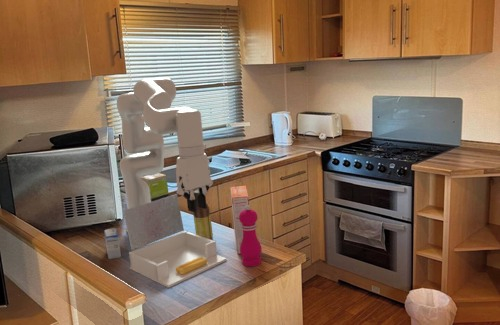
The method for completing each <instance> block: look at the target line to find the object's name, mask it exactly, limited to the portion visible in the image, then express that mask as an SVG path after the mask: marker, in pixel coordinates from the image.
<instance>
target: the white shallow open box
mask: <svg viewBox="0 0 500 325" xmlns="http://www.w3.org/2000/svg"><path fill="white" fill-rule="evenodd" d="M128 256H129V258H128V259H129V264H130V266H129V269H130V270H132V271H134V272H136V273H138V274H140V275H142V276H143V277H146V278H148V279H150V280H152V281H154V282H156V283H158V284H160V285H162V286H165V287H166V288H171V287H173V286H175V285H177V284H179V283H182V282H184V281H186V280H188V279H191V278H192V277H195V276H196V275H199V274H201V273H203V272H206V271H207V270H209V269H212V268H213V267H216V266H218V265H220V264H223V263H224V262H227V258H226V257H224V256H221V255H219V254H217V242H216V240H210V239H207V238H205V237H202V236H199V235H196V233H192V232H190V231H188V230H184V231H181V232H178V233H176V234H173V235H171V236H168V237H165V238H163V239H160V240H157V241H155V242H152V243H149V244H147V245H144V246H142V247H139V248H136V249H134V250H131V251H129V252H128ZM199 257H202V258H203V259H204V258H205V259H207V264H205V265H203V266H201V267H198V268H196V269H194V270H192V271H190V272H188V273H185V274H180V273H177V272H176V268H177V267H178V266H180V265H183V264H185V263H187V262H189V261H192V260H194V259H196V258H199Z"/></svg>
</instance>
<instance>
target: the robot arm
mask: <svg viewBox="0 0 500 325" xmlns="http://www.w3.org/2000/svg"><path fill="white" fill-rule="evenodd" d="M176 95H177V87H176V85H175V82H174V81H173V80H172V79H171V78H169V77H166V76H165V77H154V78H153V77H152V78H144V79H141V80H138V81H137V82H136V83H135V84H134V86H133V89H132V92H125V93H122V94H120V95H118V97H117V99H116V109H117V112H118V113H119V116H120V119H121V133H122V146H123V150H124V152H126V153H127V154H128V155H125V156H124V157H122V158H121V159H120V161H119V170H120V173H121V176H122V179H123V184H124V191H125V197H126V206H127V209H130V208H133V207H136V206H140V205H143V204H146V203H149V202H151V199H150V191H149V186H148V184H147V183H146V182H145V181H143V180H142V177H144V176H148V175H153V174H157V173H160V174H161V172H162V171H163V169H164V165H165V164H164V163H165V162H164V161H165V160H164V159H165V158H164V157H165V144H164V140H165V138H164V135H169V134H176V135H177V136H176V137H177V145H178V157H177V158H176V164H175V165H176V168H175V180H176V186H177V190H176V194H177V195H179V196H182V197H184V198H185V200H186V204H187V209H188V212H192V213H193V212H196V202H195V198H194V190H198V193H199V195H198V196H197V198H198V207H200V208H204V209H205V208H206V203H207V199H206V198H207V195H208V192H209V189H210V187H211V186H213V184H214V181H213V180H212V178H211V170H210V169H211V168H210V165H209V159H208V157H207V154H206V153H205V149H206V148H207V145H206V144H205V143H204V134H203V132H204V131H203V126H202V125H203V122H202V116H201V112H200V110H198V109H197V108H196V109H193V108H191V107H189V106H181V107H174V108H173V107H172V108H171V106H172V103H173V102H174V100H175V99H176ZM145 125H146V127H145ZM126 232H127V233H128V231H127V230H126Z"/></svg>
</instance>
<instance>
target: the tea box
mask: <svg viewBox="0 0 500 325" xmlns="http://www.w3.org/2000/svg"><path fill="white" fill-rule="evenodd" d="M142 180H143V181H145V182H146V183H147V184H148V186H149V191H150V199H151V202H153V201H156V200H159V199H162V198H165V197H169V196H170V194H169V185H168V178H167V175H166V174H164V173H161V172H160V173H157V174H153V175H148V176H144V177H142Z"/></svg>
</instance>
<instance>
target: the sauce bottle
mask: <svg viewBox="0 0 500 325" xmlns="http://www.w3.org/2000/svg"><path fill="white" fill-rule="evenodd" d="M198 195H199V193H198V189H194V190H193V197H194V199H195V202H196V212H192V214H193V222H194V231H195V234H196V235H199V236H202V237H205V238H207V239H210V240H213V239H214V234H213V227H212V225H213V224H212V216H211V213H210V207H209V204H207V202H206V208H205V209H204V208H200V207H198V198H197V196H198ZM213 241H214V240H213Z"/></svg>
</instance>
